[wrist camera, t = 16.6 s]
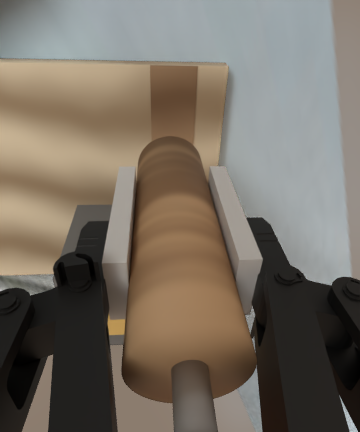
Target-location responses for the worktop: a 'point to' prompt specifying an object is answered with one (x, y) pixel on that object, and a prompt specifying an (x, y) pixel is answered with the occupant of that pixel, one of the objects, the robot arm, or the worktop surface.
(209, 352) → the wooden tool handle
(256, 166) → the worktop surface
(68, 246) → the grey box with label
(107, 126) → the birch board
